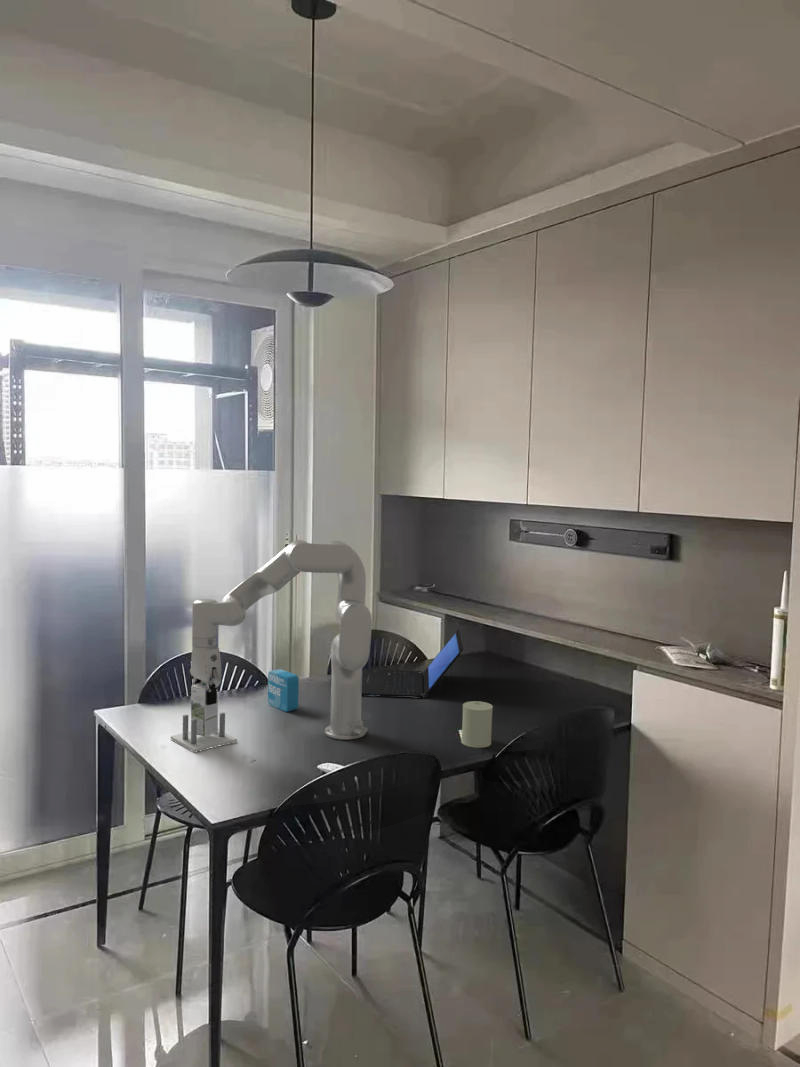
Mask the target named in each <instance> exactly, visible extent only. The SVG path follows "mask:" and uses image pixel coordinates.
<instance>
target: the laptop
mask: <svg viewBox="0 0 800 1067" xmlns="http://www.w3.org/2000/svg"><path fill="white" fill-rule="evenodd" d="M463 651H464V648H463V642H462V638H461V633H460V630H459V629H457V630H456V631H455V632H454V634H452V636H451V638H450V639H449V640H448V641H447V642H446V643H445V645H444V646H443V647H442V648H441V650H440V651H439V652H438V653H437V655H436V656H435V657H434V658H433V660H432V661H431V662H430V663H429V665H428V666H426V669H425V670H424V671H423V670H399V669H376V668H375V669H374V668H364V669H363V671H362V695H374V696H375V695H380V696H413V697H423V696H425V697H427V696H428V694H430V692H431V691H432V689H434V687H435V686H436V685H437V683H438V682H439V681H440V680H441V678H443V677H444V675H445V674H446V672H447V671H449V669H450V668H451V667H452V665H453V664H454V663H455V662H456V660H457V659H458V658H459V657H460V656H461V654H462V652H463ZM418 672H421V673H418ZM423 673H424V675H423ZM425 697H424V698H425Z"/></svg>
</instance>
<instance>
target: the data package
mask: <svg viewBox="0 0 800 1067" xmlns="http://www.w3.org/2000/svg"><path fill="white" fill-rule="evenodd" d="M299 683H300V679H299V676H298V675H297V674H295V673H293V672H291V671H290V672H289V671H287V670H284V669H281V668H278V669H273V670H270V671H268V673H267V704H268V705H269V706H271V707H273V708H275V707H276V708H275V709H277V708H278V710H280V711H282V710H283V711H282V712H284V711H285V712H284V713H288V712H291V711H296V710H298V708H299V689H300V687H299V685H300V684H299Z"/></svg>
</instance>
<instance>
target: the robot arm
mask: <svg viewBox="0 0 800 1067" xmlns="http://www.w3.org/2000/svg"><path fill="white" fill-rule="evenodd" d="M301 572H302V573H316V574H317V573H319V574H321V573H322V574H323V573H324V574H326V573H327V574H336V576H337V599H336V608H335V619H336V621H337V623H338V625H339V633H338V634H337V635H336V636H335V637H333V640H332V642H331V645H330V661H331V662H330V663H331V678H330V679H331V680H330V713H329V714H330V716H329V718H330V719H329V725H328V726H326V727H325V728H324V734H325V735H326V737H328V738H331V739H336V740H343V741H345V740H346V741H347V740H355V739H359V738H362V737H364V736H366V733H367V732H368V728H367V727H365V726H364V721H363V720H362V700H363V699H362V697H363V696H362V675H363V668H364V666H366V665H367V663H368V661H369V658H370V653H371V641H372V630H373V629H372V627H373V626H372V625H373V619H372V613H371V612H370V611H371V610H370V609H369V608H368V607H367V605H366V590H367V589H366V588H367V587H366V586H367V576H366V569H365V567H364V563H363V561H362V559H361V558H360V556H359V554H358V553H357V552H356V551H355V549H353V548H352V547H351V546H350V545H349V544H346V542H343V541H340V540H330V541H329V542H328V543H327V544H326V543H325V544H323V543H311V542H310V543H309V542H307V541H306V540H302V539H296V540H294V541H291V542H290V543H289V544H287V545H286V546H285V547H284V548H283V549H282V550H280V552H278V553H277V554H276V555H275V556H273V557H272V558H271V559H270V560H269V561H268V562H266V563H265V564H264V565H263V566H262V567H260V568H259V569H257V570H256V571H255V572H254V573H252V574H251V575H250V576H248V577H247V578H246V579H245V580H243V581H242V582H241V583H240V584H238V585H237V586H235V587H234V588H233V589H232V590H231V591H230V592H229V593H227V594H226V595H225V596H224V597H223V598H221V601H220V602H219V601H217V600H216V599H212V598H204V599H203V598H202V599H196V600H195V601H193V603H192V607H191V608H192V615H191V622H192V627H191V628H192V630H191V631H192V632H191V633H192V634H191V636H192V637H191V647H192V649H191V657H190V669H189V673H190V676H191V680H192V682H191V684H192V685H191V686H193V685H195V684H197V683H201V682H206V685H207V690H208V691H207V692H206V705H212V704H216V703H217V690H218V691H219V689H218V688H219V687H220V684H222V683H221V682H222V661H221V660H222V659H221V651H220V647H219V631H220V630H219V627H220V626H227V627H236V626H239V625H241V624H242V623H243V622H244V621H245V619H246V615H247V613H246V611H247V610H248V609H249V608H251V607H252V606H253V605H255V604H256V603H257V602H258V601H259V600H260V599H262V598H264V597H266V596H268V595H272V594H275V593H277V592H279V591H280V590H281V589H283V587H285V585H288V583H289V582H290V581H291V580H292V579H294V578H295V577H296V576H298V575H299V574H300V573H301ZM210 679H211V680H210ZM210 683H211V684H212V685H211V686H210Z"/></svg>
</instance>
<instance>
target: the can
mask: <svg viewBox="0 0 800 1067" xmlns="http://www.w3.org/2000/svg"><path fill="white" fill-rule="evenodd" d="M493 708H494V706H493V704H490V703H489V702H486V701H485V702H484V701H479V700H478V701H477V700H476V701H475V700H473V701H466V702H464V703H463V704H462V725H461V726H462V727H461V740H460V743H461V744H462V745H464V746H465V747H469V748H475V749H482V748H487V747H490V746H491V745H492V724H493V723H492V722H493Z"/></svg>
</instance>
